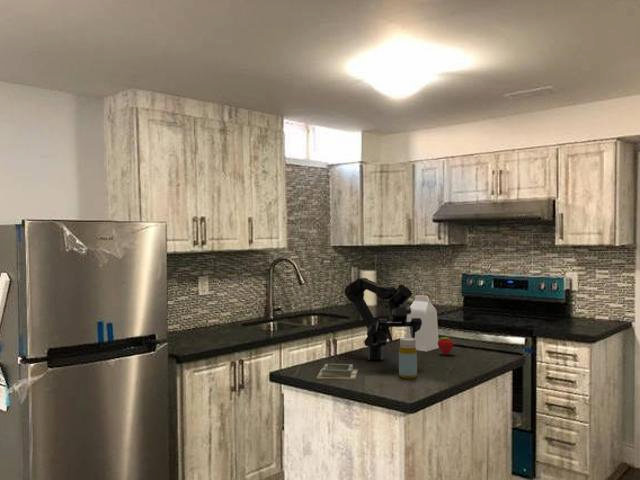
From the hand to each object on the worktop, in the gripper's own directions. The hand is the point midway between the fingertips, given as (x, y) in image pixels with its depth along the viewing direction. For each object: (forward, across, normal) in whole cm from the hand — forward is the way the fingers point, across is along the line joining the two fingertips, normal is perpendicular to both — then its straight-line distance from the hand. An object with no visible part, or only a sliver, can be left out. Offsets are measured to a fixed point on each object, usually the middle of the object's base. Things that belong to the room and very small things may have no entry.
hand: (402, 341), depth 234 cm
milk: (-24, +23, +42) cm, 53 cm away
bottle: (+14, 0, +4) cm, 15 cm away
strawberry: (-11, +28, +29) cm, 42 cm away
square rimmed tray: (+9, -27, +9) cm, 30 cm away
